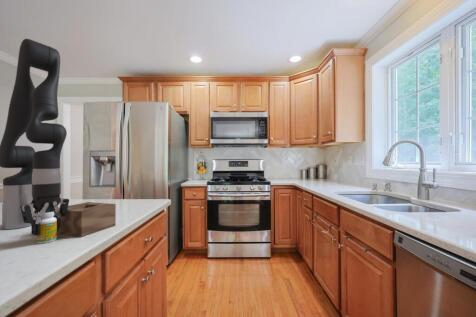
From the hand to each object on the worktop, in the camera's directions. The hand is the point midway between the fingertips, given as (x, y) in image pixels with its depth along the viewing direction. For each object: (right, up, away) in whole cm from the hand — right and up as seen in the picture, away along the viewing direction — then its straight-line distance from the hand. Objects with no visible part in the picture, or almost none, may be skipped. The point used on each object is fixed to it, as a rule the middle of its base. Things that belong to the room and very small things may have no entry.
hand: (46, 232), depth 78 cm
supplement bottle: (0, -3, 0) cm, 3 cm away
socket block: (+4, -3, +13) cm, 14 cm away
